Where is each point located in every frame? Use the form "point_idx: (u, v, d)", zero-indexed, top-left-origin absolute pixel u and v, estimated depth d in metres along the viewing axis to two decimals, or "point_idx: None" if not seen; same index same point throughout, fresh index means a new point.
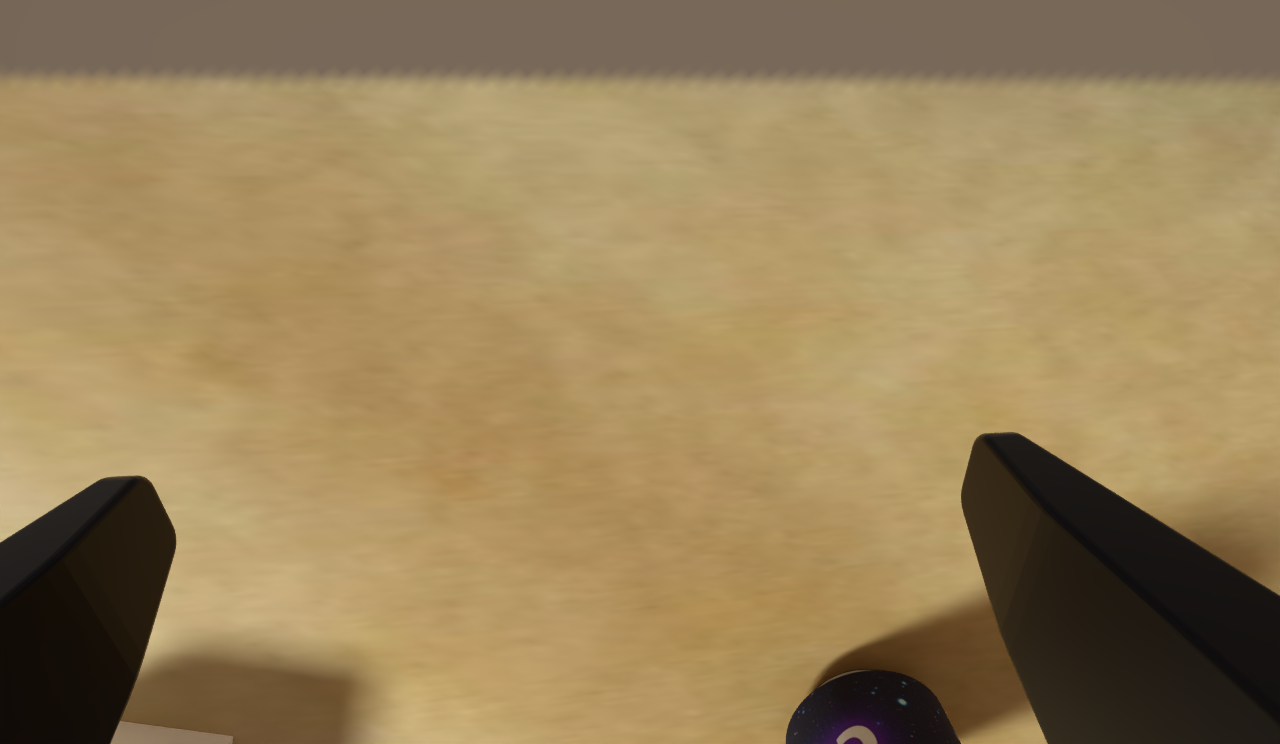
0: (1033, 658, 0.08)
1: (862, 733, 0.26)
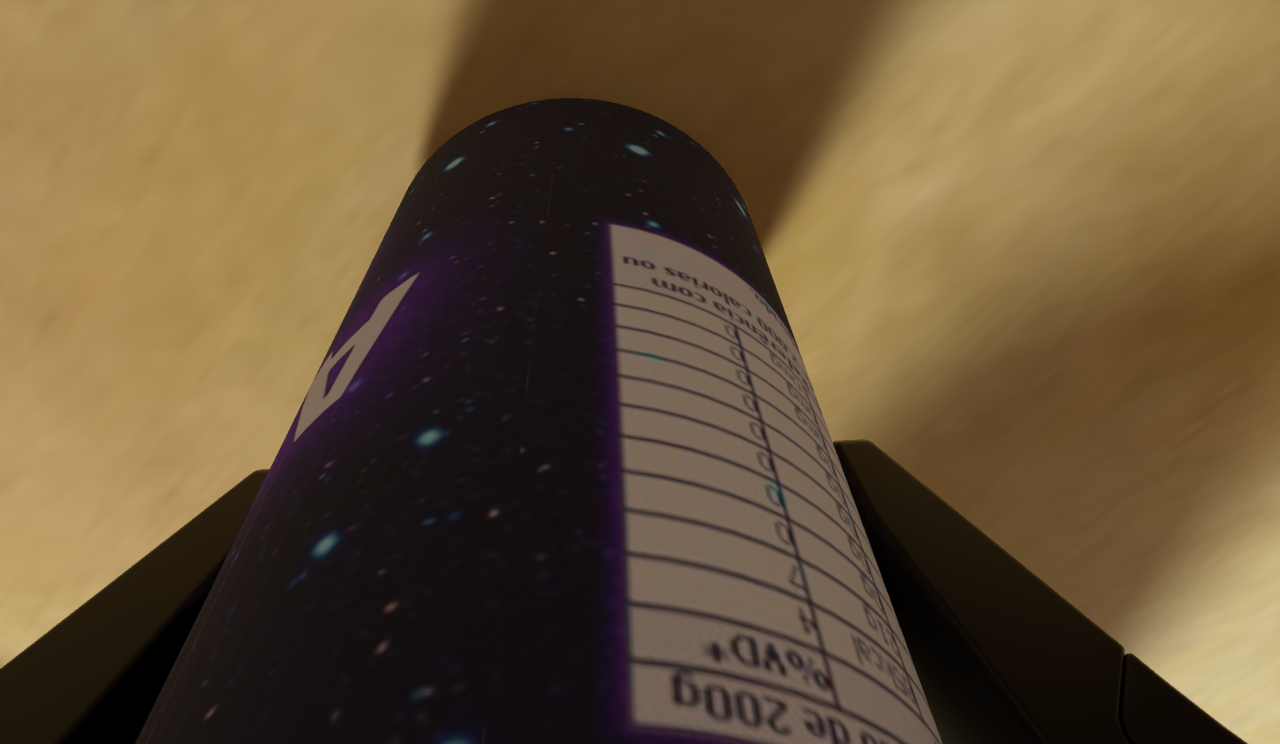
0: None
1: None
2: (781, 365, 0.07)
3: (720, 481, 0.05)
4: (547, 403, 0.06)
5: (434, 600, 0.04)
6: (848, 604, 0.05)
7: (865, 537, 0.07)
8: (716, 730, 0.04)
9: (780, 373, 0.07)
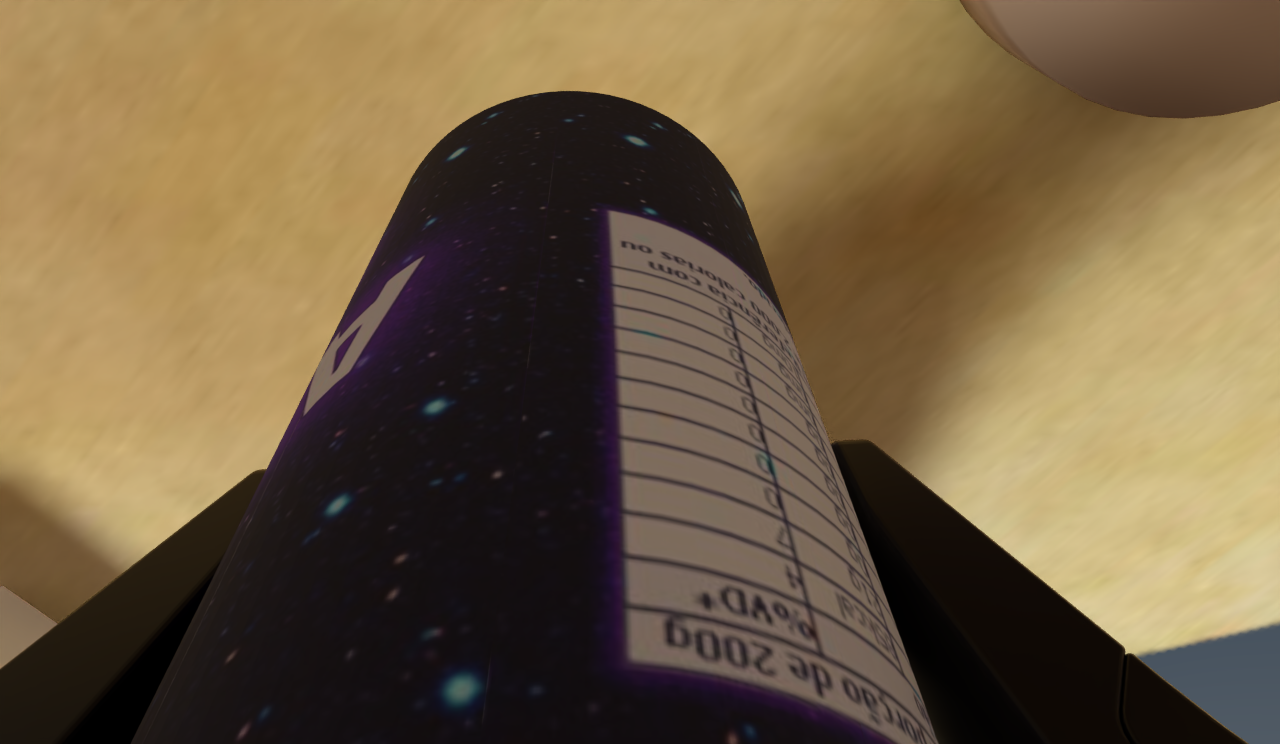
0: None
1: None
2: (773, 346, 0.08)
3: (712, 449, 0.06)
4: (547, 374, 0.06)
5: (443, 552, 0.04)
6: (833, 565, 0.05)
7: (852, 509, 0.07)
8: (705, 667, 0.04)
9: (772, 354, 0.08)
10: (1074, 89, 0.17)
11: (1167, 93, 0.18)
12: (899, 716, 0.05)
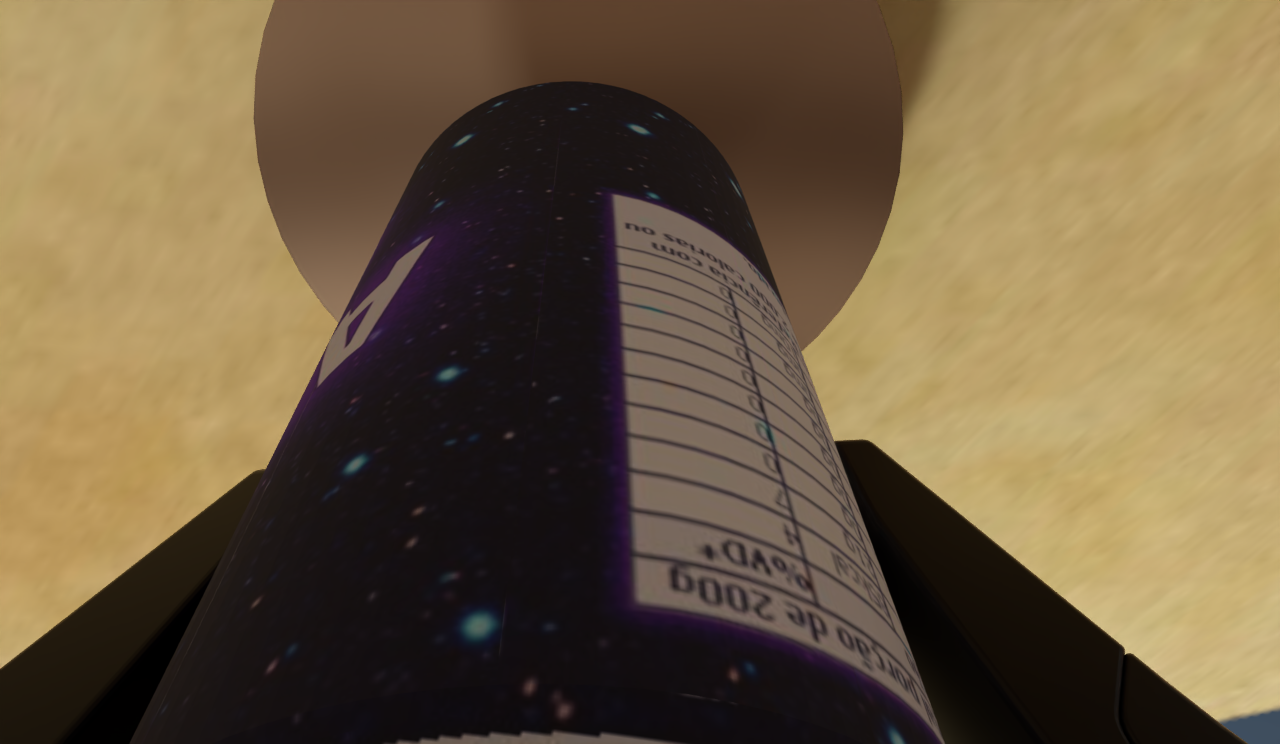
0: None
1: None
2: (772, 326, 0.08)
3: (715, 417, 0.06)
4: (556, 346, 0.06)
5: (459, 504, 0.05)
6: (829, 527, 0.06)
7: (847, 481, 0.07)
8: (707, 610, 0.04)
9: (770, 332, 0.08)
10: None
11: None
12: (890, 666, 0.05)
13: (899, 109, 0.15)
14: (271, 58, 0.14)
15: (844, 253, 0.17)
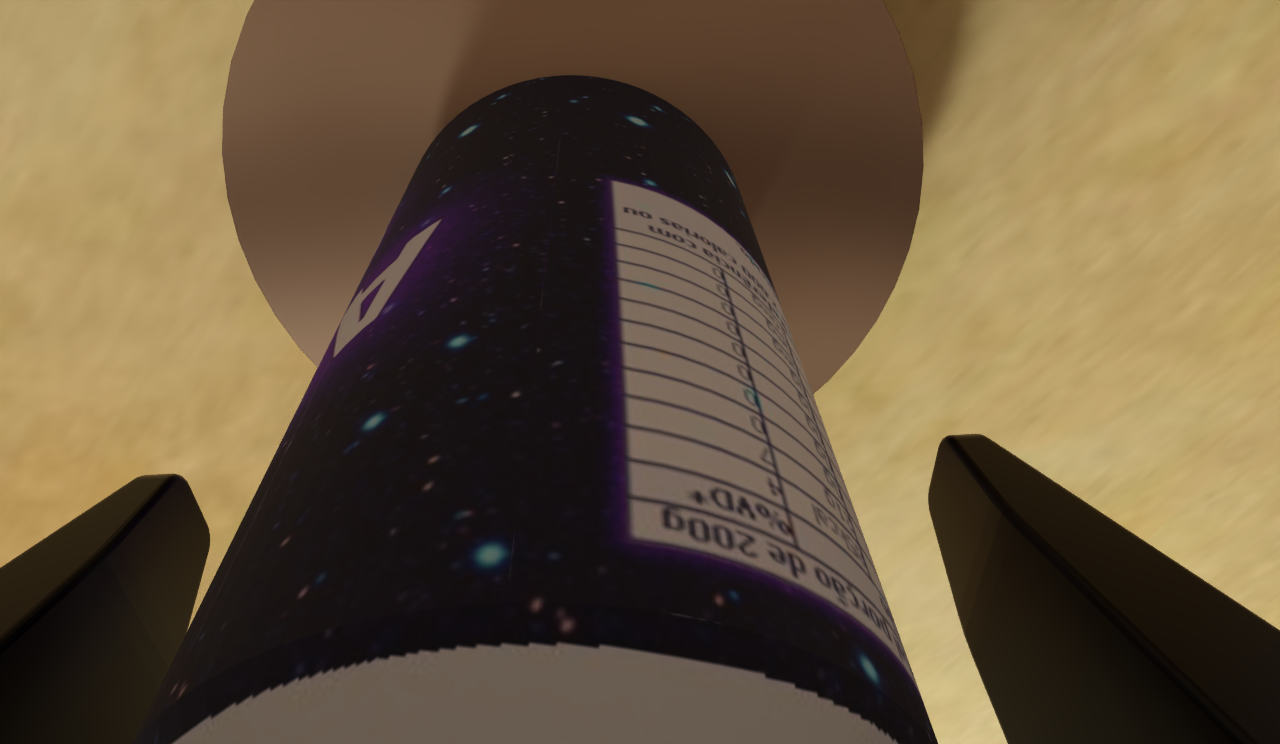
0: (995, 660, 0.08)
1: None
2: (762, 306, 0.08)
3: (705, 382, 0.06)
4: (560, 316, 0.07)
5: (470, 455, 0.05)
6: (811, 483, 0.06)
7: (831, 449, 0.08)
8: (697, 547, 0.05)
9: (761, 311, 0.08)
10: None
11: None
12: (864, 605, 0.05)
13: (919, 142, 0.14)
14: (240, 90, 0.13)
15: (858, 294, 0.16)
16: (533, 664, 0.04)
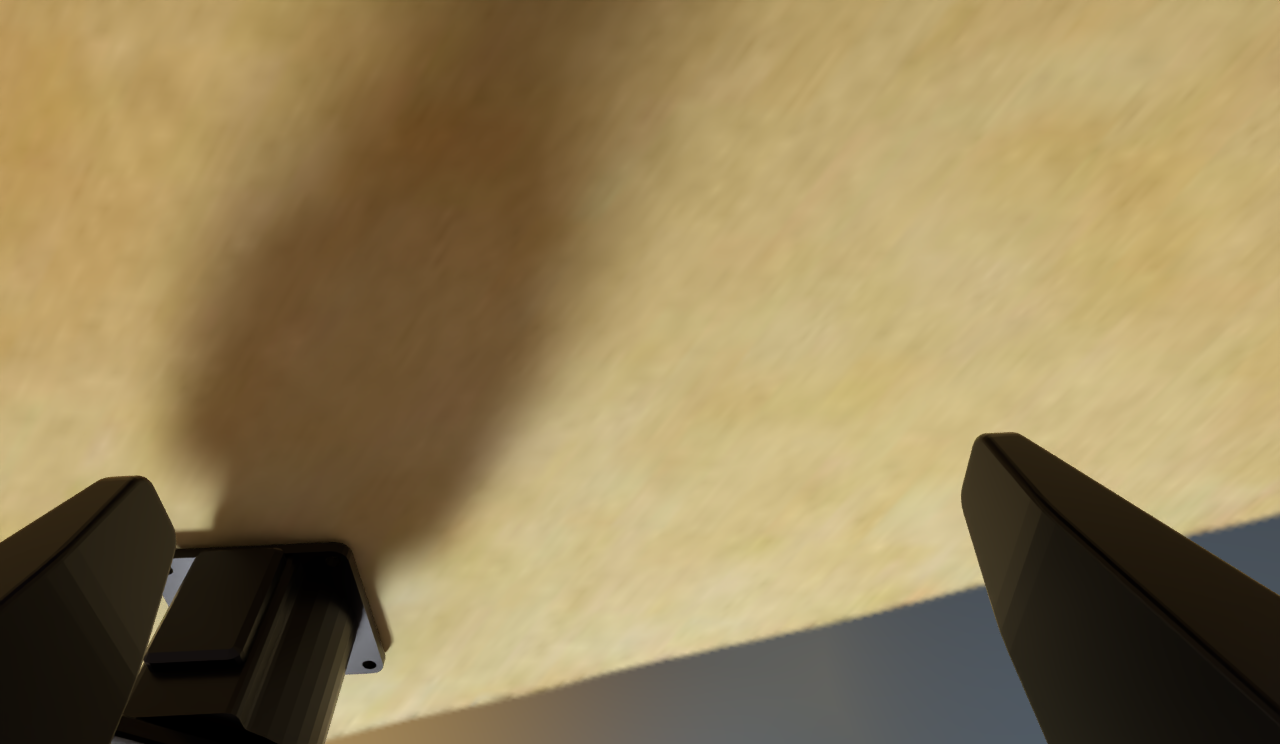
0: (1033, 658, 0.08)
1: None
2: None
3: None
4: None
5: None
6: None
7: None
8: None
9: None
10: None
11: None
12: None
13: None
14: None
15: None
16: None
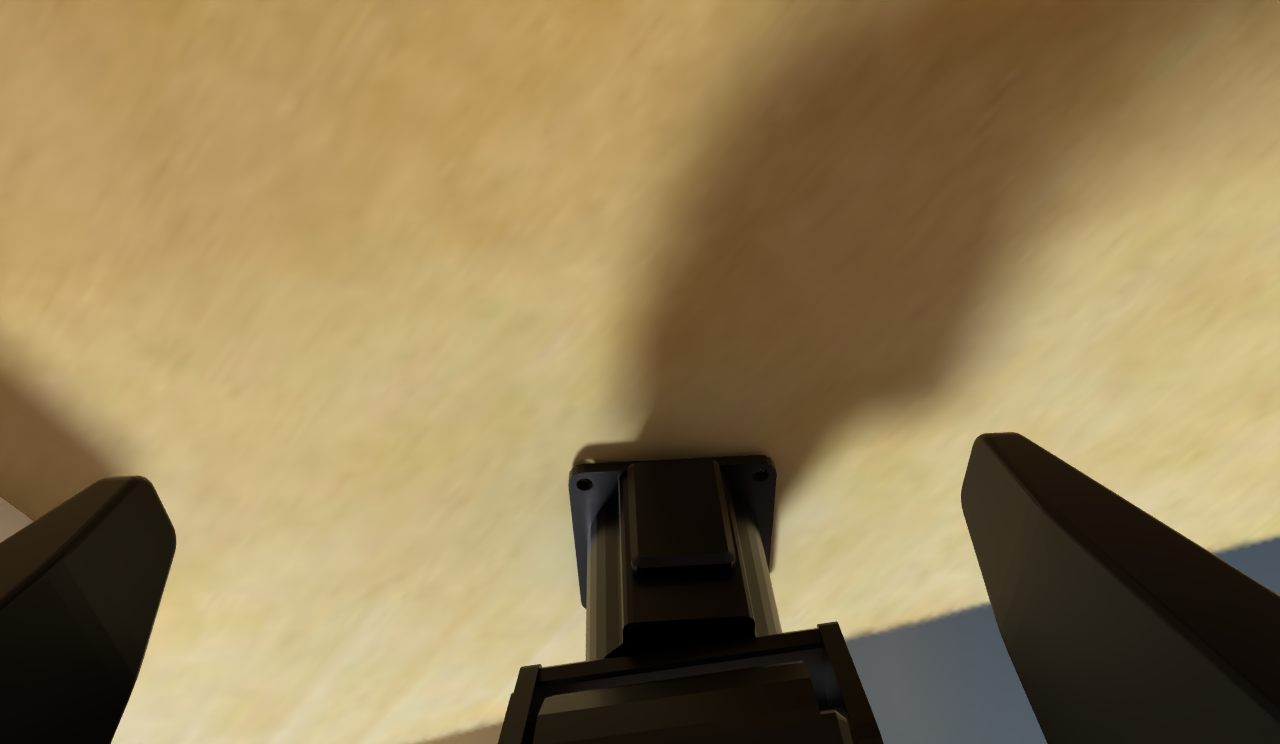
0: (1033, 658, 0.08)
1: None
2: None
3: None
4: None
5: None
6: None
7: None
8: None
9: None
10: None
11: None
12: None
13: None
14: None
15: None
16: None
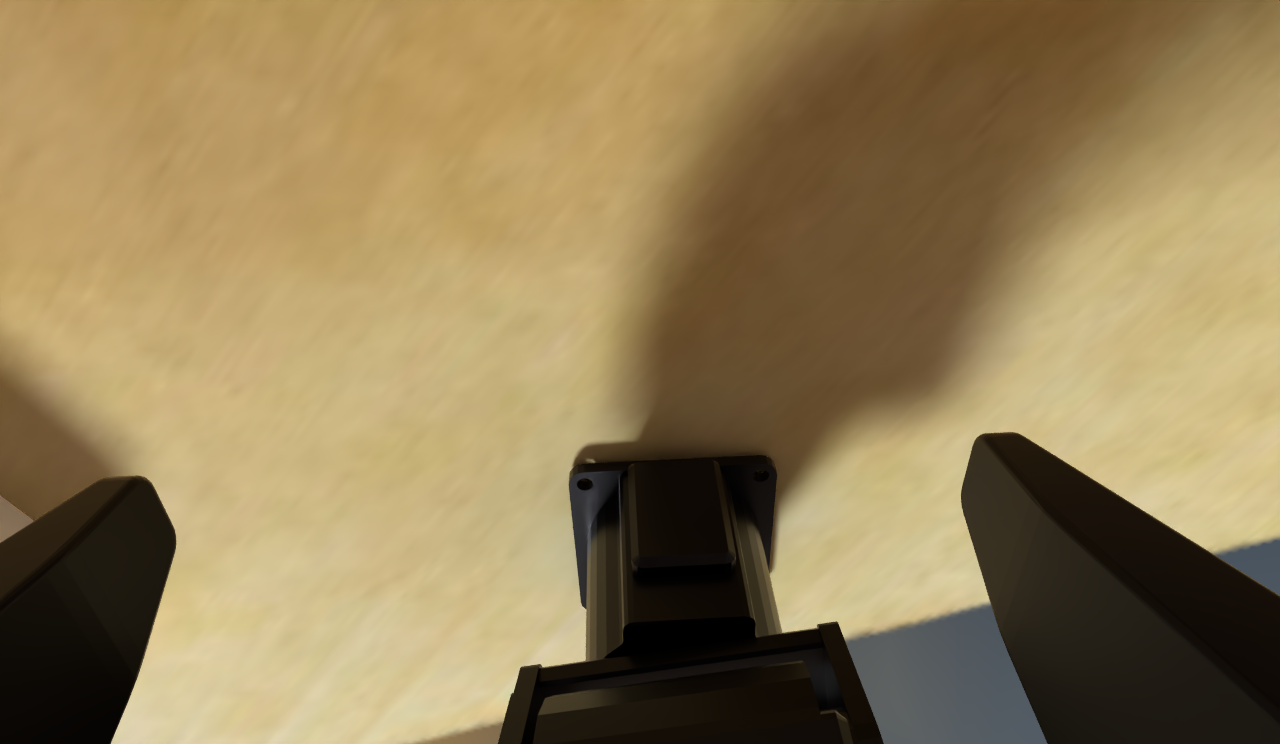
0: (1033, 658, 0.08)
1: None
2: None
3: None
4: None
5: None
6: None
7: None
8: None
9: None
10: None
11: None
12: None
13: None
14: None
15: None
16: None
